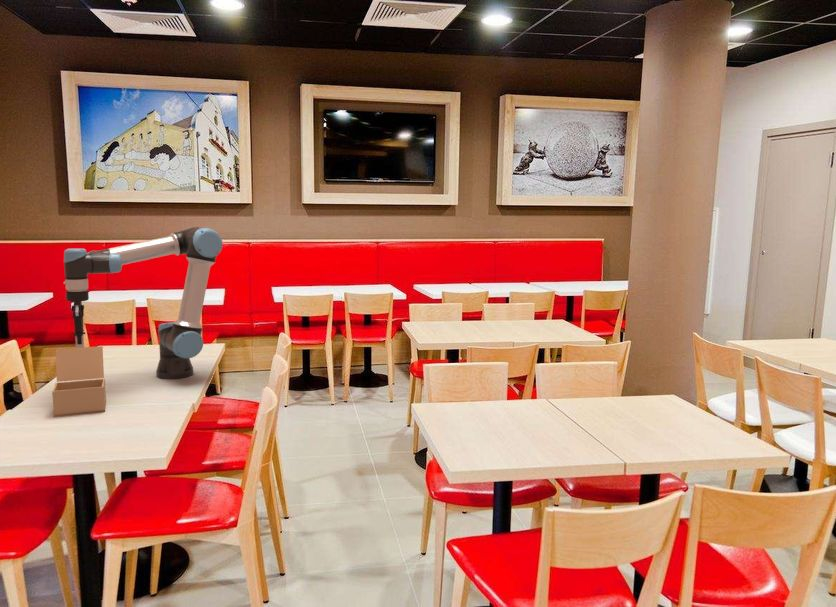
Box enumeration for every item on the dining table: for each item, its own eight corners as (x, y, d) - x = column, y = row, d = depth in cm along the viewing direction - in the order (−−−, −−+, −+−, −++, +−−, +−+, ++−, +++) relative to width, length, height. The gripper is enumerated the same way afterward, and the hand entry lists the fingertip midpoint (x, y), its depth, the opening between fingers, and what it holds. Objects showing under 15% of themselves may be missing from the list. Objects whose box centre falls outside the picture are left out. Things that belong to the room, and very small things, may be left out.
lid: (103, 377, 246) (103, 377, 247) (102, 346, 248) (102, 346, 249) (56, 381, 240) (56, 381, 241) (55, 349, 242) (55, 349, 243)
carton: (106, 402, 247) (104, 378, 246) (105, 411, 237) (103, 387, 235) (57, 406, 241) (55, 382, 240) (54, 416, 230) (52, 391, 229)
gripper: (67, 288, 253) (70, 349, 256) (64, 292, 241) (67, 356, 244) (89, 287, 256) (92, 348, 259) (87, 292, 244) (90, 355, 247)
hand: (80, 352), depth 252 cm, fingers closed
